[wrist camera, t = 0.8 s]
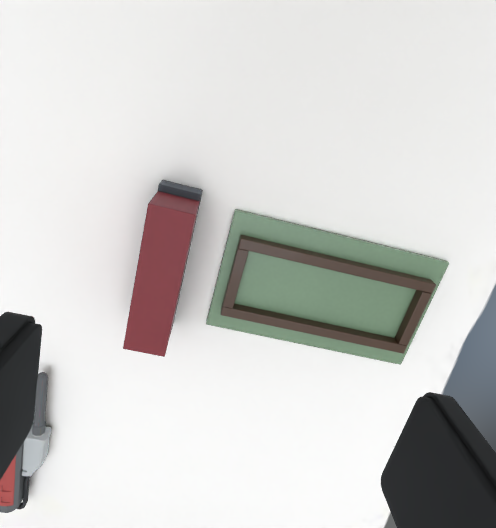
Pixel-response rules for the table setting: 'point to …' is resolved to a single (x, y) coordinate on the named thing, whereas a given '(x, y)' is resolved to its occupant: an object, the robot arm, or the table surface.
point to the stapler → (161, 267)
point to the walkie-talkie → (27, 455)
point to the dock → (322, 288)
